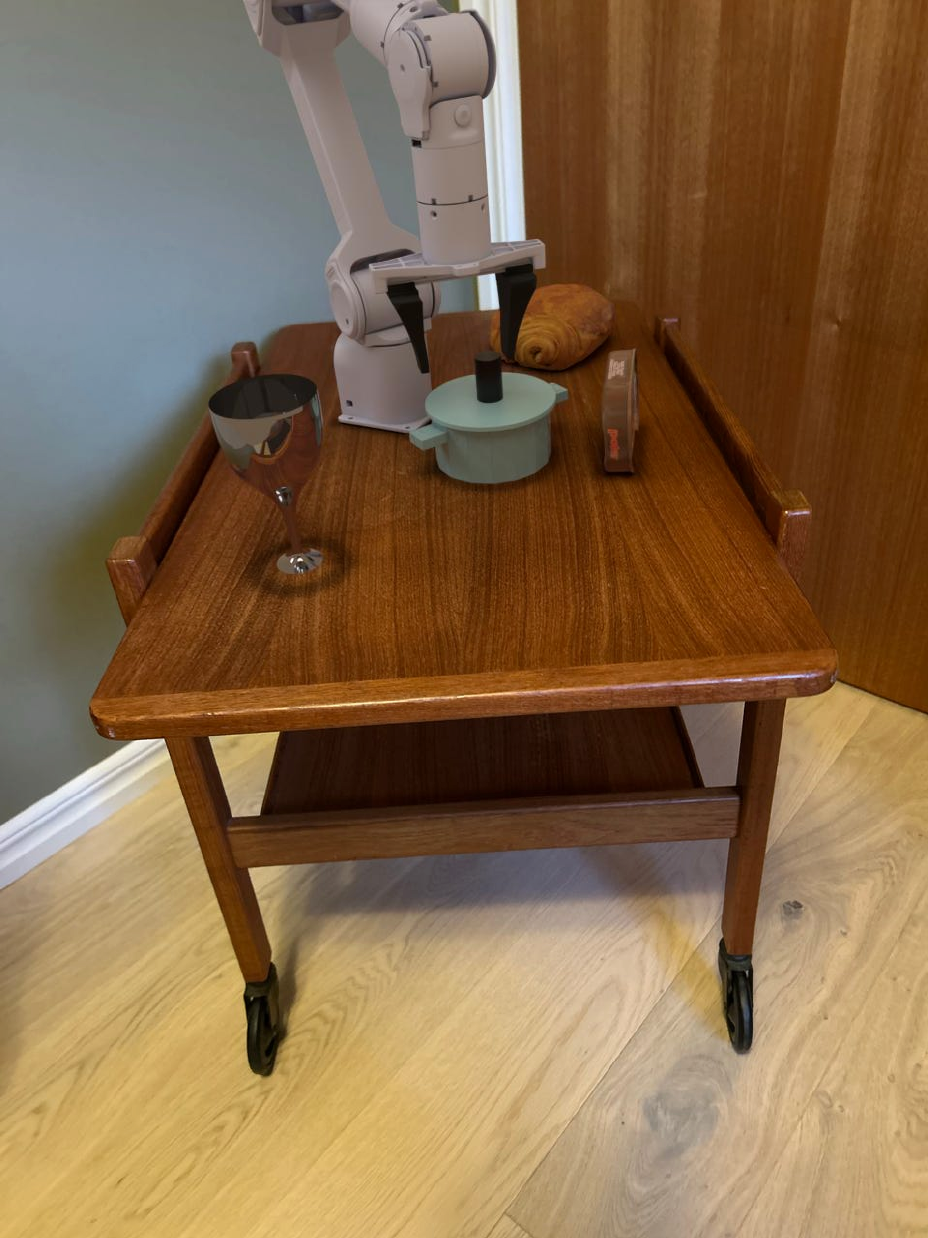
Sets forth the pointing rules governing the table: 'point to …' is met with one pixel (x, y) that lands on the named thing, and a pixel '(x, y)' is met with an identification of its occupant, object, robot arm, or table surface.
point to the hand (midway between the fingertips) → (466, 362)
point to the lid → (490, 398)
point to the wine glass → (273, 445)
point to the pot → (490, 449)
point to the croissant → (559, 327)
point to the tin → (620, 409)
